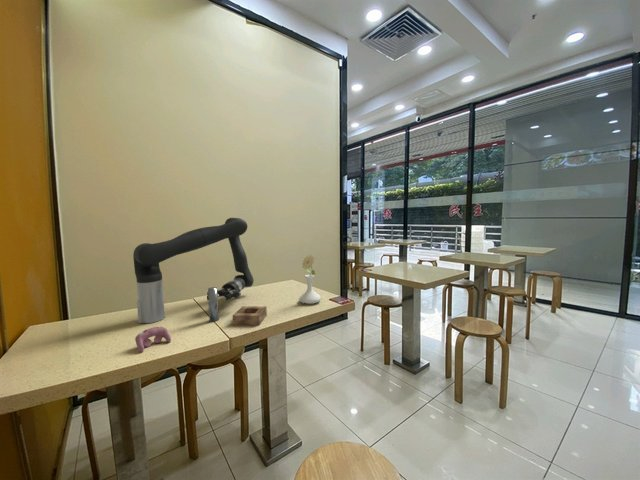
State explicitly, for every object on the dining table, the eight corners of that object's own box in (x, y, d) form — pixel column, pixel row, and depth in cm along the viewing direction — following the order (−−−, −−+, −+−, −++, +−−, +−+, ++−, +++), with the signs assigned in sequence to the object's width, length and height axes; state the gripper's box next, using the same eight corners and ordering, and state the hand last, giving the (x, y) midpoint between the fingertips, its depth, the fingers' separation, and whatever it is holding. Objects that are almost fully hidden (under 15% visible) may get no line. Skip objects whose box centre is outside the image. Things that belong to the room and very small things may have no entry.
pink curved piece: (168, 343, 94) (163, 324, 96) (172, 341, 92) (168, 321, 93) (136, 354, 87) (132, 334, 88) (140, 352, 84) (135, 331, 85)
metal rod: (209, 322, 109) (208, 289, 108) (209, 319, 112) (207, 287, 111) (218, 321, 111) (217, 288, 110) (218, 318, 114) (216, 286, 113)
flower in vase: (296, 300, 138) (295, 253, 136) (317, 297, 141) (316, 252, 139) (302, 307, 125) (301, 256, 123) (325, 305, 129) (324, 255, 127)
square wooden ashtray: (232, 324, 106) (232, 315, 106) (242, 315, 117) (242, 306, 117) (259, 325, 105) (259, 315, 105) (266, 315, 116) (266, 306, 116)
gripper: (218, 281, 131) (201, 289, 115) (245, 281, 130) (232, 289, 114) (218, 295, 132) (202, 306, 115) (246, 295, 131) (233, 306, 115)
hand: (217, 298), depth 115 cm, fingers open, 8 cm apart
